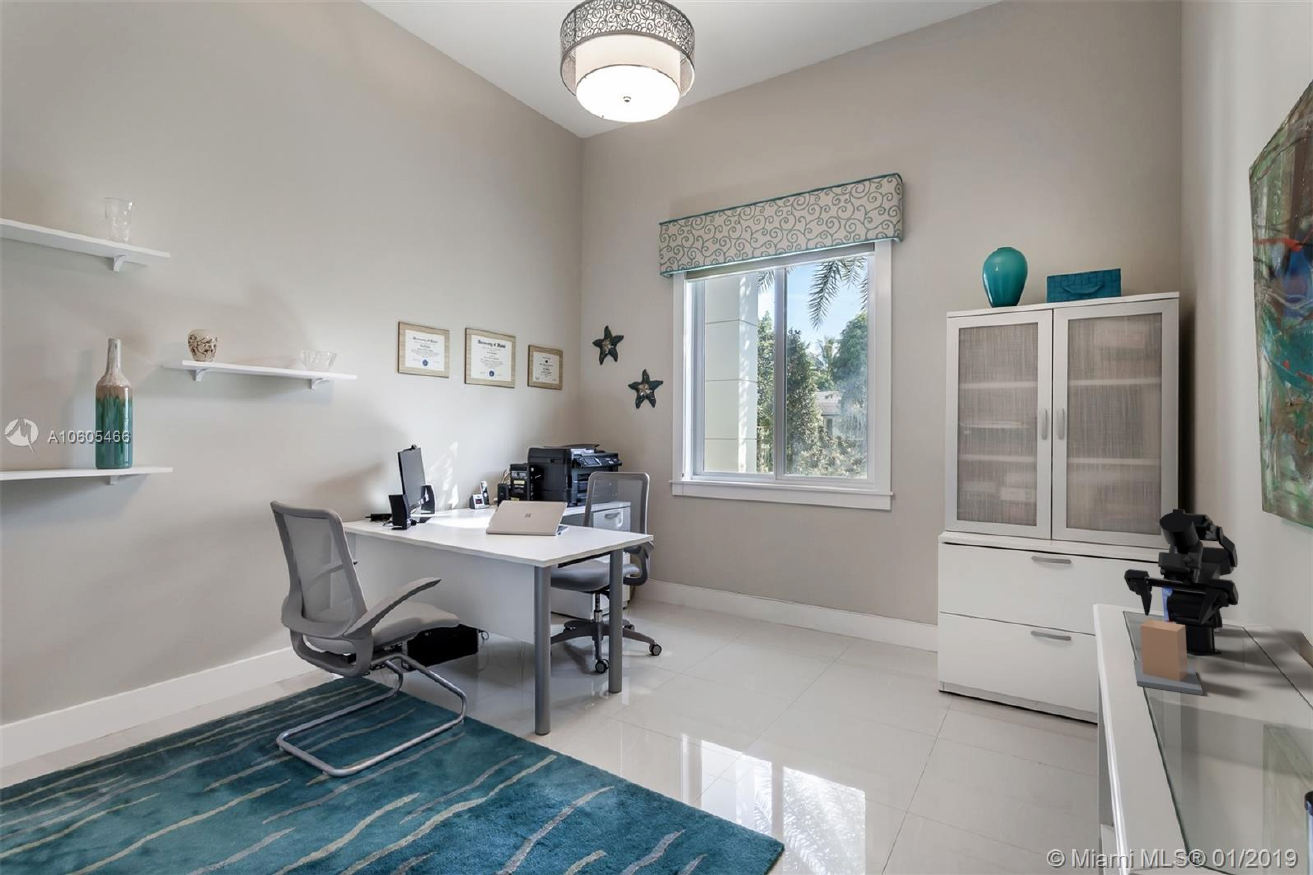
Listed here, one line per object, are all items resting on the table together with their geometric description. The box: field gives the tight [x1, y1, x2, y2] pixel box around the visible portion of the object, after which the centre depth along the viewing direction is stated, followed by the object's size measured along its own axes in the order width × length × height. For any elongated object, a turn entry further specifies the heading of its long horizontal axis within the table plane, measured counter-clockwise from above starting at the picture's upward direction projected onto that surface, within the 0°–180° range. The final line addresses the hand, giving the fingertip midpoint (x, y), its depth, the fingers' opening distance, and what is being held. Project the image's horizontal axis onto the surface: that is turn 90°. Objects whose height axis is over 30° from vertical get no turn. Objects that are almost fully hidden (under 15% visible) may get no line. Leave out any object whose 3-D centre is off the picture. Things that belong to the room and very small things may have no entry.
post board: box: [1133, 658, 1203, 696], centre depth 128 cm, size 14×10×4 cm
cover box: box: [1139, 619, 1188, 681], centre depth 128 cm, size 6×6×10 cm
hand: (1172, 618), depth 133 cm, fingers open, 9 cm apart
